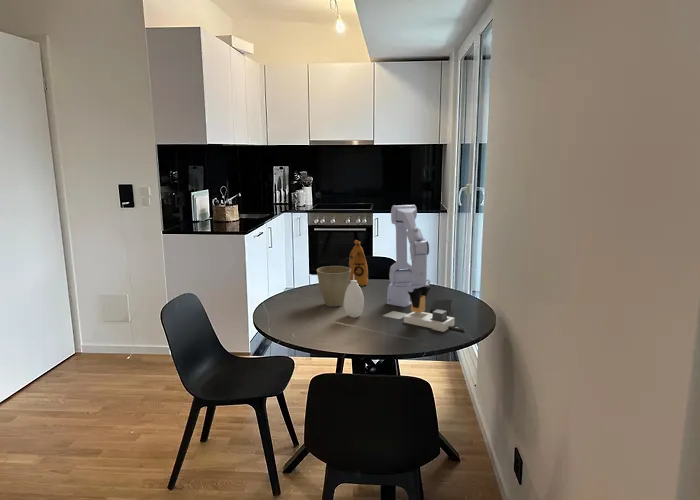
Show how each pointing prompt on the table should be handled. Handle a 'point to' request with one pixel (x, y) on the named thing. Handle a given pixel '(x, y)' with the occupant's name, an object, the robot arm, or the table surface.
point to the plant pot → (333, 284)
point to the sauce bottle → (354, 299)
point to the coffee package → (358, 265)
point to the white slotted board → (430, 321)
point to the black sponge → (442, 306)
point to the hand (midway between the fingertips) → (418, 306)
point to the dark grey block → (439, 315)
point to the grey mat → (395, 315)
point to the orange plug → (421, 305)
